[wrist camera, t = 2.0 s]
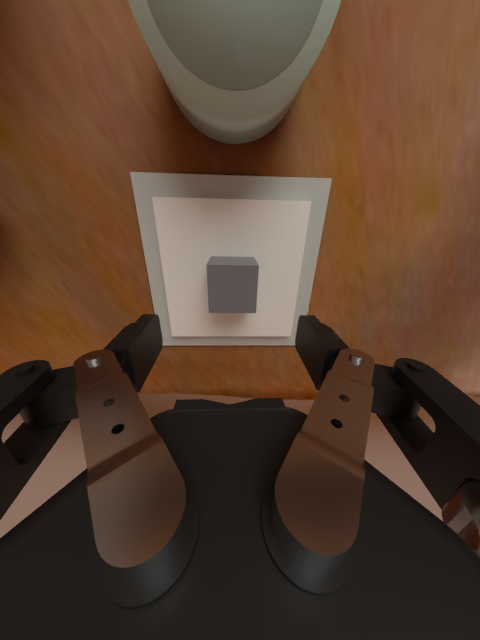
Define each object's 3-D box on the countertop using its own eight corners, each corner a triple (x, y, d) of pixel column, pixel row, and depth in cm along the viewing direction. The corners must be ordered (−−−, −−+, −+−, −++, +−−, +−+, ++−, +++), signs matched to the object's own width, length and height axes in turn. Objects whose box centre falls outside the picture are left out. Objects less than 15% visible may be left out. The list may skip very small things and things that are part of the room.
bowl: (313, -49, 14) (389, -292, 7) (292, 151, 19) (326, 115, 12) (151, -62, 14) (74, -333, 7) (172, 147, 19) (138, 106, 12)
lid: (307, 201, 21) (331, 196, 16) (289, 332, 27) (301, 357, 22) (155, 197, 20) (130, 190, 15) (173, 332, 27) (160, 358, 22)
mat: (330, 179, 20) (331, 178, 20) (301, 344, 29) (301, 345, 28) (131, 172, 19) (130, 171, 19) (161, 344, 28) (160, 345, 27)
